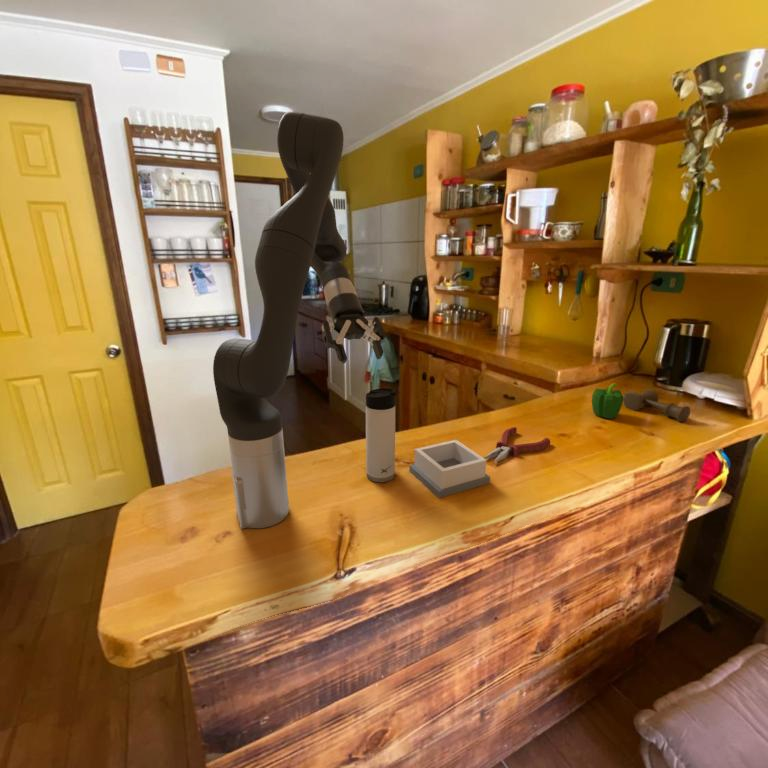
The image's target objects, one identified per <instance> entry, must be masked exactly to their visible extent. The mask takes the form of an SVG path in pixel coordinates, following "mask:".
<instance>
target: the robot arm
mask: <svg viewBox="0 0 768 768" xmlns="http://www.w3.org/2000/svg"><path fill="white" fill-rule="evenodd" d="M342 127H343V126H342V125H341V124H340V123H339V122H338V121H337V120H335V119H332V118H328V117H324V116H320V115H314V114H310V113H303V112H300V111H299V112H298V111H287V112H285V113H284V114H283V115H282V116H281V117H280V121H279V122H278V128H277V136H276V140H277V141H276V143H277V151H278V154H279V155H278V156H279V159H280V161H281V165H282V167H283V170H284V172H285V173H286V176H287V178H288V181H289V183H290V185H291V188H292V190H293V192H294V194H295V195H294V196H292V197H291V198H290V199H289V200H288V201H286V202H284V204H283V205H282V206H280V208H278V209H277V210H276V211H275V212H274V213H273V214H272V215H271V216H270V217H269V218H268V219H267V220H266V223H265V224H264V227H263V228H262V232H261V234H260V235H261V236H260V239H259V242H258V244H257V245H258V246H257V250H256V253H255V259H254V266H255V267H254V269H255V274H256V278H257V283H258V285H259V289H260V292H261V297H262V301H263V313H262V321H261V326H260V329H259V333H258V336H257V339H256V340H255V339H245V338H229V339H227V340H225V341H223V342H222V343H221V344H220V345H219V346H218V348H217V350H216V352H215V354H214V358H213V366H212V374H213V375H212V376H213V381H214V387H215V392H216V398H217V403H218V409H219V415H220V416H221V419H222V421H223V423H224V424H225V425H226V431H227V437H228V444H229V445H228V446H229V451H230V452H229V453H230V460H231V477H232V484H233V493H234V500H235V502H234V503H235V509H236V515H237V518H238V522H239V528H240V529H247V528H250V529H265V528H269V527H272V526H275V525H277V524H279V523H281V522H282V521H284V519H286V518H287V516H288V515H289V513H290V505H289V504H290V503H289V493H288V480H287V468H286V467H287V465H286V455H285V443H284V431H283V418H282V417H283V416H282V415H281V412H280V411H279V409H277V408H276V407H275V406H273V405H272V404H270V403H269V402H268V401H267V400H266V399H269V398H273V397H274V396H277V394H278V393H279V392H280V391H281V390H282V388H283V387H284V385H285V382H286V380H287V377H288V374H289V370H290V364H291V359H292V358H291V357H292V351H293V345H294V339H295V332H296V326H297V320H298V315H299V313H300V312H299V310H300V307H301V304H302V303H301V301H302V298H303V294H304V289H305V285H306V282H307V278H308V276H309V273H310V269H311V268H312V270H313V271H314V272H315V273H316V275H317V277H318V278H319V281H320V283H321V286H322V289H323V292H324V298H325V299H324V300H325V302H326V306H327V308H328V313H329V314H330V317H331V320H332V322H329V321H328V320H326V319H325V320H323V322H322V325H321V328H320V329H321V334H322V338H323V341H324V342H323V343H324V346H325V347H324V348H326V349H327V350H328V349H330V348H331V349H334V351H335V354H336V357H337V360H338V362H340V363H341V364H346V362H347V361H348V356H347V353H346V350H345V346H344V345H343V344H342V343H343V342H344V340H345V339H347V341H350V340H360V339H362V340H363V341H364V342H368V344H370V345H371V346H372V349H373V352H374V355H375V356H374V357H375V358H376V360H381V358H382V357H383V354H384V353H385V352H384V349H383V346H382V344H383V343H384V341H385V340H386V338H387V334H386V332H385V329H384V328H383V325H382V323H381V321H380V319H379V317H378V316H375V317H373V319H367V318H366V317H365V315H364V314H365V313H364V310H363V307H362V305H361V302H360V299H359V297H358V294H357V291H356V289H355V286H354V285H353V283H352V280H351V277H350V275H349V272H348V270H347V267H346V266H345V265H344V264H343V263H342V261H344V260H345V258H346V256H347V247H346V246H347V245H346V243H345V241H344V239H343V237H342V236H341V235H340V232H339V231H338V227H337V216H336V211H335V207H334V205H333V203H332V201H331V199H330V198H329V195H330V192H331V189H332V187H333V184H334V181H335V178H336V175H337V172H338V169H339V166H340V162H341V159H342V154H343V150H344V149H343V148H344V130H343V128H342ZM332 330H334V331H335V332H336V333H338V336H337V338H336V339H334V338H333V336H332ZM365 333H366V334H365Z"/></svg>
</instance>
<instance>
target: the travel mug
mask: <svg viewBox="0 0 768 768" xmlns="http://www.w3.org/2000/svg"><path fill="white" fill-rule="evenodd" d="M397 395H398V390H397V389H393V388H391V387H390V388H389V387H385V388H384V387H382V388H375V389H372V390H369V391H368V393H366V394H365V449H366V451H365V454H366V455H365V457H366V458H365V459H366V462H365V464H366V466H365V467H366V470H365V471H366V477H367V479H369V480H370V481H372V482H375V483H387V482H389V481H392V480H393V478H394V477H395V475H396V474H395V473H396V396H397Z"/></svg>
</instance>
